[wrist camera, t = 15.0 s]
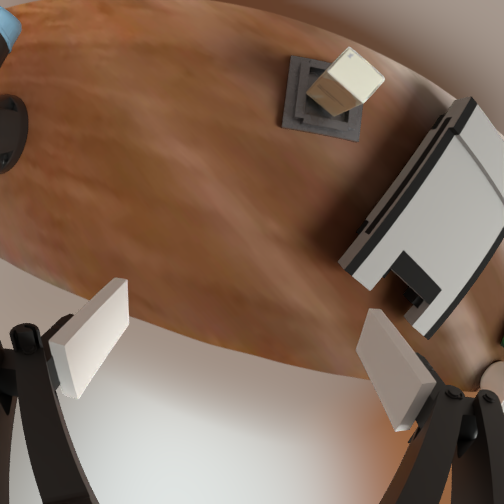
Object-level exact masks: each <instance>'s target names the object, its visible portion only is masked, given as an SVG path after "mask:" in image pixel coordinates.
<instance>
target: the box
mask: <svg viewBox="0 0 504 504" xmlns="http://www.w3.org/2000/svg"><path fill="white" fill-rule="evenodd" d="M384 80H385V78H384V76H383V75H382V74H380V73H379V72H378V71H377V70H376V69H375V68H374V67H373V66H372V65H371V64H370V63H369V62H367V61H366V60H365V59H364V58H363V57H362V56H360V55H359V54H358V53H357V52H356V51H354V50H353V49H352V48H351V47H348V48H347V49H346V50H345V51H344V52H343V53H342V54H341V55H340V56H339V57H338V58H337V59H336V60H335V61H334V62H333V63H332V64H331V65H330V66H329V67H328V68H327V69H326V71H325V72H324V73H323V74H322V75H321V76H320V77H319V78H318V79H317V80H316V81H315V82H314V84H313V85H312V86H311V87H310V88H309V89H308V91H307V92H306V94H307V95H308V96H310V97H311V98H312V99H313V100H314V101H316V102H317V103H318V104H319V105H320V106H322V107H323V108H324V109H325V110H326V111H327V112H329V113H330V114H331V115H332V116H334V117H335V116H337V115H339V114H341V113H343V112H345V111H347V110H350V109H352V108H354V107H356V106H358V105H361V104H363V103H364V102H365V101H366V100H367V99H368V98H369V97H370V96H371V95H372V94H373V93H374V92H375V91H376V90H377V88H378V87H379V86H380V85H381V84H382V83H383V81H384Z"/></svg>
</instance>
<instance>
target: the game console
mask: <svg viewBox="0 0 504 504" xmlns="http://www.w3.org/2000/svg"><path fill="white" fill-rule="evenodd" d="M357 233H358V234H359V236H358V237H357V238H356V239H355V241H354V242H353V243H352V244H351V246H350V247H349V248H348V250H347V251H346V252H345V253H344V255H343V256H342V257H341V258H340V259H339V261H338V263H339V264H340V265H341V266H342V268H343V269H344V270H345V271H346V272H348V273H349V274H350V275H351V276H353V277H354V278H355V279H356V280H358V281H359V282H360V283H361V284H362V285H364V286H365V287H366V288H367V289H369V290H370V291H371V289H372V288H373V287H374V286H375V285H376V284H377V282H378V281H379V280H380V279H381V278H382V277H383V278H385V277H386V275H387V274H388V273H389V272H390V271H391V270H392V271H393V272H394V273H396V274H397V275H398V276H399V277H400V278H401V279H402V280H403V281H404V282H405V283H406V284H407V285H408V286H409V288H408V289H407V290H406V291H405V293H404V294H403V295H404V296H405V297H406V298H407V299H408V300H409V301H410V302H411V303H412V304H413V306H412V307H411V308H410V309H409V310H408V311H407V313H406V314H405V315H404V317H405V318H406V320H407V321H408V322H409V323H410V324H411V325H412V326H413V327H414V328H415V329H416V330H417V331H419V332H420V333H421V334H422V335H423V336H424V337H425V338H427V339H428V340H429V339H430V338H431V337H432V336H433V334H434V333H435V332H436V331H437V330H438V329H439V327H440V326H441V325H442V324H443V323H444V321H445V320H446V319H447V318H448V317H449V315H450V314H451V313H452V312H453V310H454V309H455V308H456V307H457V305H458V304H459V303H460V301H461V300H462V299H463V298H464V296H465V295H466V294H467V292H468V291H469V290H470V288H471V287H472V285H473V284H474V283H475V281H476V280H477V278H478V277H479V276H480V274H481V273H482V271H483V270H484V268H485V267H486V265H487V264H488V262H489V261H490V259H491V258H492V256H493V255H494V253H495V251H496V250H497V248H498V247H499V245H500V243H501V242H502V240H503V238H504V141H503V139H502V138H501V136H500V135H499V133H498V132H497V130H496V129H495V127H494V126H493V125H492V123H491V122H490V120H489V119H488V118H487V116H486V115H485V114H484V112H483V111H482V109H481V108H480V107H479V106H478V104H477V103H476V102H475V100H474V99H473V98H472V97H467V98H463V99H458V100H454V102H453V104H452V105H451V107H450V108H449V110H448V111H447V113H446V114H445V115H440V117H439V118H438V120H437V121H436V123H435V124H434V126H433V128H432V129H431V130H430V131H429V132H428V134H427V135H426V137H425V138H424V140H423V141H422V143H421V144H420V146H419V147H418V148H417V150H416V151H415V153H414V154H413V156H412V157H411V158H410V160H409V161H408V163H407V164H406V165H405V167H404V168H403V170H402V171H401V172H400V174H399V175H398V177H397V178H396V179H395V181H394V182H393V183H392V185H391V186H390V187H389V189H388V190H387V192H386V193H385V194H384V196H383V197H382V198H381V200H380V201H379V202H378V204H377V205H376V206H375V207H374V209H373V210H372V211H371V213H370V214H369V215H368V217H367V218H366V220H365V222H364V223H363V224H362V225H361V227H360V228H359V229H358V230H357Z"/></svg>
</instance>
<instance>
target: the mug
mask: <svg viewBox="0 0 504 504" xmlns="http://www.w3.org/2000/svg"><path fill="white" fill-rule="evenodd" d="M480 387H481V389H487V390H491V391H492V392H494V393H495V394H496V395H497V396H498V397H499V399H500V402H501V406H502V409H503V412H504V362H502V361H499V362H495V363H493V364H492V365H490V366H489V367H488V368H487V369H486V371H485V372H484V373H483V375H482V377H481V382H480Z"/></svg>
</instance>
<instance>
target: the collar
mask: <svg viewBox="0 0 504 504" xmlns="http://www.w3.org/2000/svg"><path fill="white" fill-rule="evenodd" d="M331 64H332V63H328V62H323V61H319V60H314V59H308V58H303V57H297V56H292V55H291V57H290V64H289V72H288V80H287V88H286V96H285V103H284V111H283V118H282V126H281V128H285V129H291V130H297V131H303V132H309V133H314V134H319V135H325V136H330V137H334V138H339V139H344V140H348V141H353V142H359V135H360V126H361V117H362V108H363V104H361V105H358V106H356V107H354V108H352V109H350V110H347V111H345V112H343V113H341V114H339V115H337V116H335V117H334V116H332V115H331V114H330V113H329V112H327V111H326V110H325V109H324V108H323V107H322V106H320V105H319V104H318V103H317V102H316V101H314V100H313V99H312V98H311V97H310V96H308V95H307V94H306V92H307V91H308V89H309V88H310V87H311V86H312V85H313V84H314V82H315V81H316V80H317V79H318V78H319V77H320V76H321V75H322V74H323V73H324V72H325V71H326V69H327V68H328V67H329V66H330V65H331Z"/></svg>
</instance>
